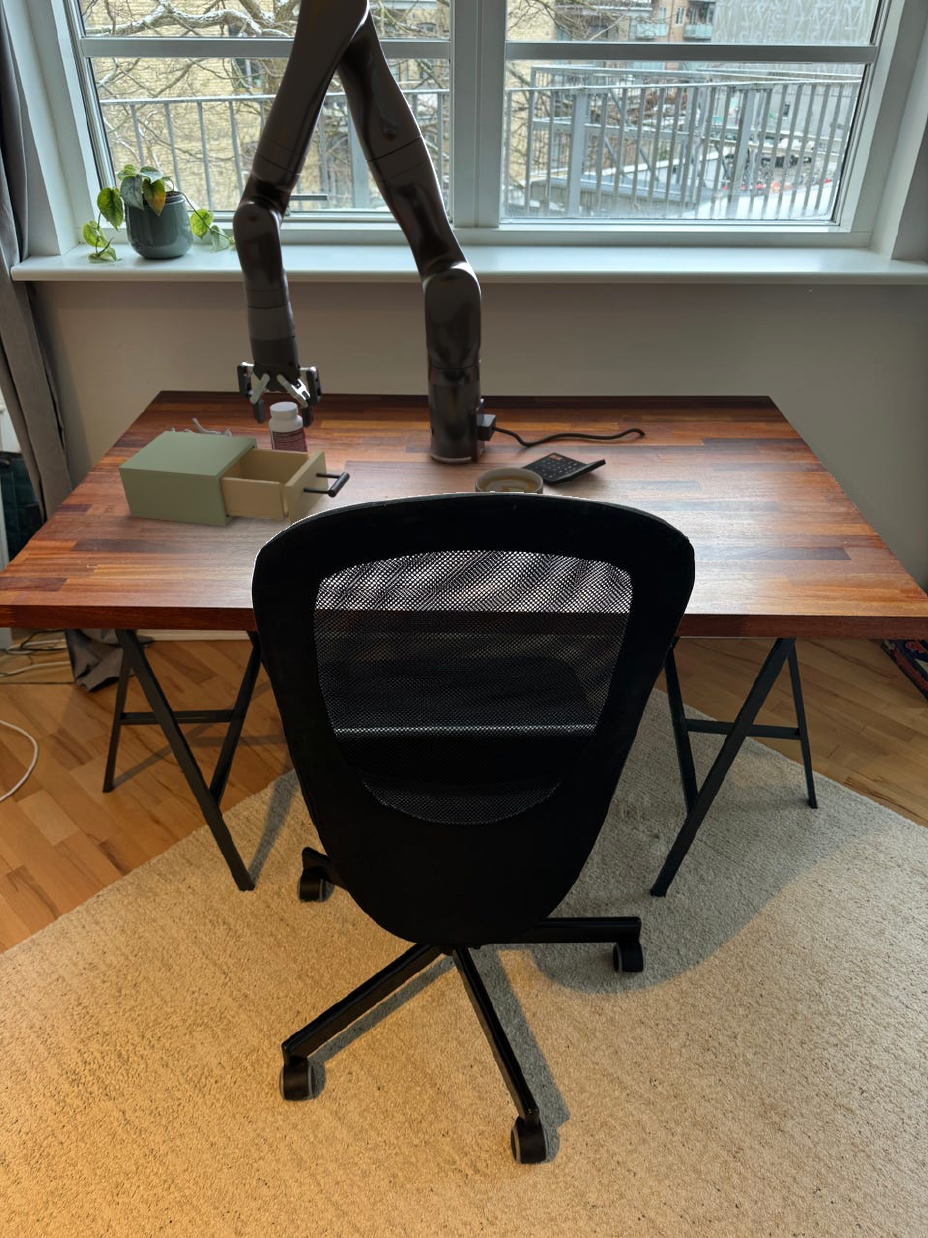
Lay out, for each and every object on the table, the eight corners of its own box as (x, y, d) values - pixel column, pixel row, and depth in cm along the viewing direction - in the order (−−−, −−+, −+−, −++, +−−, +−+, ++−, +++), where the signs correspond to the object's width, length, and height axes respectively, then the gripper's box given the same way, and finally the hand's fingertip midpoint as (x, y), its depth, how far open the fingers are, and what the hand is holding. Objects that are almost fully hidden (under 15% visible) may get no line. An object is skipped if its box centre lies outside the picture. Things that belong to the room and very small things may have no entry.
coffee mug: (547, 555, 131) (549, 494, 125) (481, 561, 130) (480, 500, 124) (530, 513, 142) (531, 455, 136) (468, 518, 141) (467, 460, 135)
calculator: (553, 456, 159) (554, 441, 157) (605, 475, 152) (606, 459, 150) (518, 473, 154) (518, 457, 152) (570, 493, 147) (571, 477, 145)
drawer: (359, 490, 148) (355, 452, 144) (330, 529, 137) (325, 489, 133) (243, 480, 152) (237, 442, 148) (206, 517, 141) (198, 477, 138)
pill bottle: (316, 464, 159) (308, 406, 153) (287, 475, 155) (278, 416, 149) (296, 454, 163) (288, 397, 156) (268, 465, 159) (258, 406, 153)
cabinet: (264, 485, 153) (255, 437, 148) (225, 526, 141) (215, 475, 136) (176, 477, 156) (165, 430, 151) (131, 516, 144) (117, 467, 139)
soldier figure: (192, 439, 172) (243, 424, 168) (192, 462, 171) (243, 448, 167) (164, 423, 165) (217, 407, 161) (164, 447, 164) (217, 432, 160)
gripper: (222, 334, 144) (237, 429, 153) (303, 340, 141) (314, 435, 150) (242, 321, 150) (256, 413, 159) (321, 326, 147) (330, 419, 156)
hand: (284, 424), depth 155 cm, fingers open, 8 cm apart
